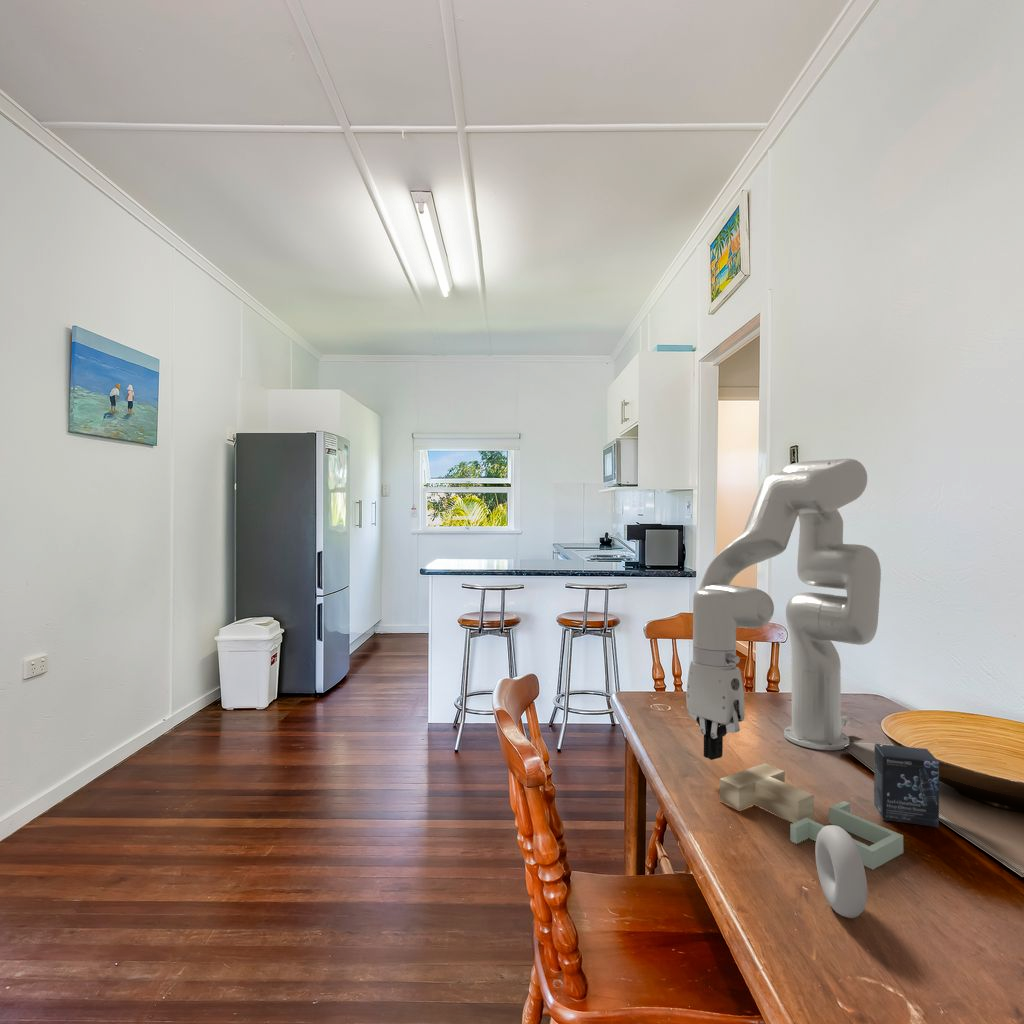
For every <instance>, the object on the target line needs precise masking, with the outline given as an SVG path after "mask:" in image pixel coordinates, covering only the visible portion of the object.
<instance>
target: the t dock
mask: <svg viewBox="0 0 1024 1024" xmlns="http://www.w3.org/2000/svg"><path fill="white" fill-rule="evenodd" d="M828 809H829V824H830V823H831V825H835V826H839V827H841V828H843V829H844V830H845V831H846V832H847V833H848V832H849V833H850V834H852V835H855V836H857V837H860V838H862V839H863V840H866V841H868V842H871V843H873V844H870V846H869V845H868V844H866V843H863V842H861V841H859V840H856V839H855V838H852V839H853V841H854V842H855V844H856V846H857V848H858V850H859V853H860V855H861V858H862V862H863V865H864V867H866V868H868V869H870V870H875V869H877V868H879V867H880V866H882V865H884V864H886V863H887V862H890V861H892V860H893V859H895V858H897V857H899V856H900V855H902V854H904V835H903V834H900V833H898V832H896V831H894V830H891V829H889V828H886V827H884V826H881V825H880V824H877V823H874V822H873V821H870V820H868V819H865V818H863V817H861V816H858V815H856V814H854V813H851V803H850V802H847V801H845V800H844V801H840V802H839V803H836V804H834V805H832V806H830V807H829V808H828ZM789 826H790V828H789V829H790V833H789V834H790V835H789V836H790V837H789V838H790V839H789V840H791V841H792V842H791V841H790V842H791V843H793V842H794V843H793V844H795V843H796V844H795V845H798V844H800V843H802V842H804V841H807V840H811V839H812V840H811V841H813V840H814V841H813V842H815V841H816V840H817V835H818V833H819V832H820V830H821V829H822V828H823V827H825V826H826V825H824V824H822V823H820V822H818V821H815V820H811V819H809V818H807V817H806V818H804V819H802V820H799V821H797V822H795V823H793V824H792V823H790V825H789ZM808 838H810V839H808ZM806 839H807V840H806ZM803 840H804V841H803ZM801 841H802V842H801ZM797 843H798V844H797Z"/></svg>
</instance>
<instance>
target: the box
mask: <svg viewBox="0 0 1024 1024" xmlns="http://www.w3.org/2000/svg"><path fill="white" fill-rule="evenodd" d="M873 750H874V761H873V762H874V765H873V766H874V768H873V769H874V770H873V771H874V775H873V776H874V777H873V778H874V779H873V784H874V785H873V789H874V790H873V791H874V793H873V797H874V798H873V803H874V804H873V805H874V806H875V809H876V811H877V813H878V814H879V815H880V817H881V819H882V821H884V822H885V821H888V822H897V823H906V824H913V825H920V826H927V827H932V828H939V827H940V825H939V824H940V823H939V822H940V813H939V812H940V798H939V797H940V762H939V760H938V759H937V758H936V757H935V756H934V755H933V754H932V753H931V751H929V749H927V748H923V747H921V748H920V747H911V746H910V747H909V746H902V745H901V746H900V745H888V744H881V743H874V749H873Z"/></svg>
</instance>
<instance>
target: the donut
mask: <svg viewBox="0 0 1024 1024" xmlns="http://www.w3.org/2000/svg"><path fill="white" fill-rule="evenodd" d="M824 826H825V827H823V828H822V829H821V830H820V832H819V833H818V835H817V840H816V842H815V847H814V848H815V852H814V853H815V864H816V870H817V874H818V879H819V883H820V885H821V888H822V892H823V894H824V896H825V899H826V901H827V903H828V904H829V906H831V908H832V909H833V910H834V911H835V913H837V914H838V915H840V916H842V917H845V918H848V919H853V918H854V919H855V918H857V917H859V916H861V914H862V913H863V912H864V910H865V909H866V904H867V899H868V884H867V876H866V871H865V866H864V865H863V862H862V858H861V855H860V853H859V850H858V848H857V846H856V844H855V842H854V841H853V839H854V838H852V835H850V834H849V833H848V831H846V830H844V829H843V828H841V827H839V826H835V825H833V824H831V825H829V824H828V825H824Z"/></svg>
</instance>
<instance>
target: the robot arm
mask: <svg viewBox="0 0 1024 1024" xmlns="http://www.w3.org/2000/svg"><path fill="white" fill-rule="evenodd" d="M867 473H868V472H867V470H866V467H865V466H864V464H862V463H861V462H860V461H858V460H857V459H854V458H837V459H825V460H823V459H822V460H810V461H809V460H808V461H807V460H806V461H799V462H794V463H791V464H790V463H789V464H788V465H785V466H784V467H783V468H782V470H781V471H780V472H778V473H773V474H770V475H768V476H767V477H765V479H764V480H763V481H762V483H761V485H760V487H759V490H758V492H757V495H756V497H755V500H754V503H753V505H752V507H751V511H750V513H749V516H748V518H747V521H746V524H745V525H744V528H743V529H744V530H743V531H742V534H741V535H739V536H738V537H737V538H736V539H734V540H733V541H731V542H730V543H728V544H727V546H725V548H723V549H722V550H721V551H720V552H719V553H718V554H717V555H715V557H714V558H713V559H712V560H711V562H710V563H709V564H708V566H707V568H706V570H705V572H704V575H703V578H702V580H701V583H700V585H699V588H698V590H696V591H695V592H694V595H693V598H692V605H693V606H692V611H693V612H692V660H690V664H689V667H688V668H689V669H688V675H687V683H686V696H685V697H686V698H685V700H686V708H687V710H688V716H689V717H690V718H691V719H693V720H694V721H696V722H697V724H698V726H699V728H700V729H699V730H700V733H701V735H703V757H704V758H707V759H708V760H710V761H714V760H716V759H721V758H722V757H723V751H724V750H723V748H724V747H723V746H724V744H723V740H724V737H726V736H727V734H728V733H729V734H730V733H731V734H735V733H739V732H740V731H741V729H740V723H741V722H743V721H744V720H745V717H746V716H745V712H746V711H745V695H744V694H745V693H744V692H745V691H744V684H743V678H742V674H741V669H740V667H738V666H737V665H736V664H739V663H740V661H741V659H740V656H738V655H737V650H736V647H737V640H736V639H737V628H744V629H745V628H746V629H758V628H761V627H763V626H766V624H768V623H769V622H770V621H771V620H772V617H773V616H774V613H775V612H774V611H775V605H774V601H773V599H772V597H771V596H770V595H769V594H768V593H767V592H765V591H763V590H761V589H759V588H755V587H749V586H740V585H734V584H731V583H732V581H734V579H735V577H736V576H737V575H739V574H740V573H741V572H742V571H744V570H745V569H747V568H749V567H751V566H753V565H756V564H758V563H761V562H764V561H767V560H769V559H770V560H771V558H774V557H777V556H779V555H781V554H782V553H783V552H784V551H785V550H786V549H787V547H788V545H789V542H790V538H791V534H792V533H793V530H794V527H795V524H796V521H797V519H798V521H799V536H798V537H799V538H798V546H797V547H798V549H797V550H798V551H797V576H798V579H799V580H800V581H801V582H802V583H803V584H805V585H807V586H811V587H812V586H813V587H816V588H817V587H818V588H827V589H837V590H845V591H846V596H844V595H835V594H830V593H829V594H828V593H821V592H819V593H818V592H800V593H797V594H795V595H793V596H792V597H790V599H788V602H787V604H786V605H785V606H786V607H785V619H786V624H787V629H788V634H789V640H790V652H791V653H790V656H791V657H790V658H791V659H790V660H791V664H790V665H791V667H790V668H791V669H790V670H791V671H790V672H791V674H790V675H791V676H790V677H791V679H790V681H791V686H790V687H791V725H788V726H786V727H785V728H784V730H783V736H784V737H785V738H786V739H787V741H789V742H791V743H792V744H795V745H798V746H800V747H804V748H808V749H812V750H820V751H839V750H844V749H845V748H844V747H845V745H847V744H849V745H850V738H849V736H848V735H846V734H845V733H843V732H842V731H843V730H842V729H843V728H844V727H845V726H849V725H850V724H851V719H850V718H849V716H847V715H843V716H842V715H841V714H842V707H841V706H842V705H841V702H842V699H841V697H842V695H841V694H842V693H841V692H842V691H841V689H842V687H841V686H842V685H841V681H842V680H841V678H842V677H841V670H842V669H841V668H842V667H841V658H840V655H839V653H838V651H837V649H836V647H835V645H834V643H833V642H838V643H842V644H843V643H844V644H850V645H858V646H864V645H867V644H870V643H871V642H872V641H873V640H874V638H875V636H876V634H877V630H878V622H879V613H880V611H879V609H880V593H881V581H882V580H881V579H882V577H881V576H882V573H881V572H882V570H881V568H882V567H881V563H880V560H879V556H878V554H877V553H876V552H875V550H873V549H872V548H871V547H869V546H867V545H862V544H855V543H844V520H843V517H842V515H841V514H840V511H839V510H838V509H840V508H842V507H844V506H846V505H848V504H850V503H852V502H855V501H856V500H858V499H859V498H860V497H861V496H862V495H863V493H864V492H865V491H866V488H867V484H868V474H867ZM739 722H740V723H739Z"/></svg>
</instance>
